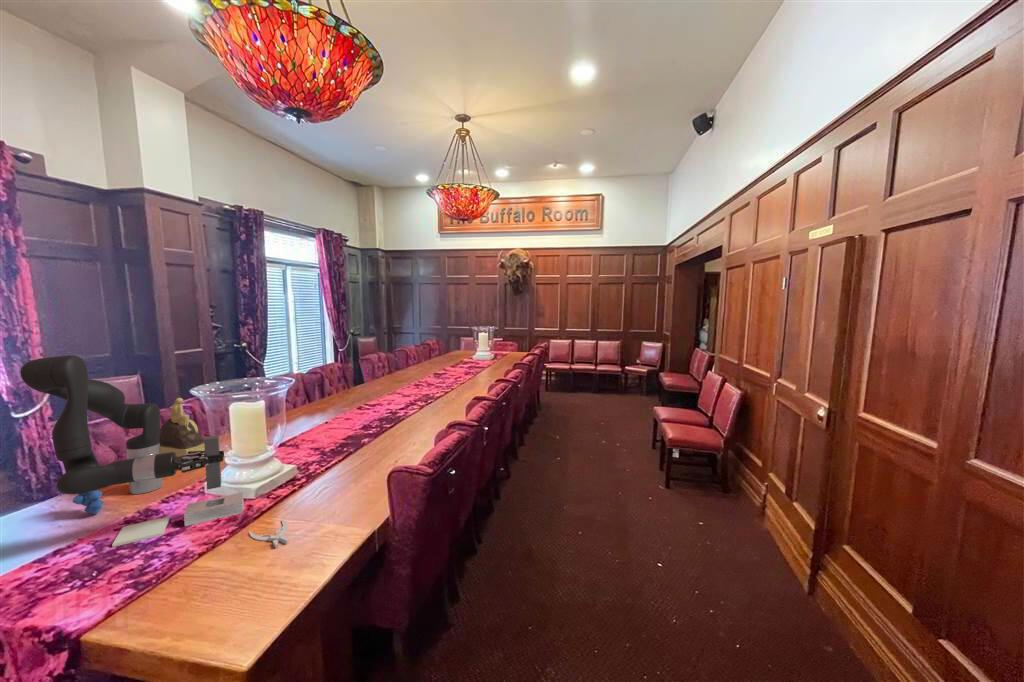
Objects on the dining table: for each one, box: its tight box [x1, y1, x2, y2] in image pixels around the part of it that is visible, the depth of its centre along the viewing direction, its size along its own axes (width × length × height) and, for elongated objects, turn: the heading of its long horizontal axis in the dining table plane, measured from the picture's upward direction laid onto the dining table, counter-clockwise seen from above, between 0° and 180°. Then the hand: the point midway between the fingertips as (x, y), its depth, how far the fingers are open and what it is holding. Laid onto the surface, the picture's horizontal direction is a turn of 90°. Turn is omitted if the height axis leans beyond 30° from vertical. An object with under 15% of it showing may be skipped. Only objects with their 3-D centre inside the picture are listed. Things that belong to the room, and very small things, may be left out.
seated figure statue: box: [160, 397, 205, 457], centre depth 173 cm, size 28×13×30 cm, turn 75°
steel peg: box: [203, 434, 222, 490], centre depth 128 cm, size 4×4×17 cm
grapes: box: [72, 489, 104, 515], centre depth 129 cm, size 12×7×12 cm, turn 65°
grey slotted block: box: [183, 492, 245, 527], centre depth 130 cm, size 8×15×4 cm, turn 123°
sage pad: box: [111, 516, 170, 548], centre depth 119 cm, size 11×11×1 cm
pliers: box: [248, 519, 290, 549], centre depth 118 cm, size 10×2×15 cm
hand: (223, 455), depth 130 cm, fingers closed on steel peg, 3 cm apart
